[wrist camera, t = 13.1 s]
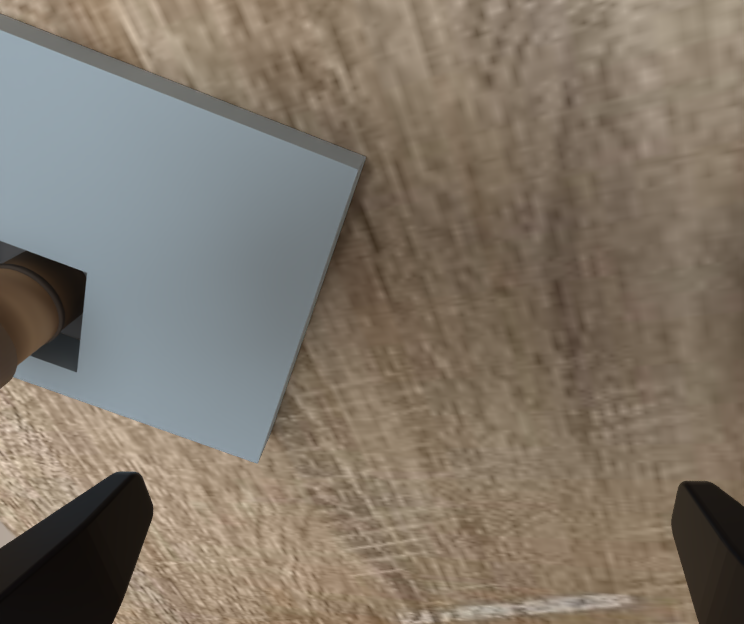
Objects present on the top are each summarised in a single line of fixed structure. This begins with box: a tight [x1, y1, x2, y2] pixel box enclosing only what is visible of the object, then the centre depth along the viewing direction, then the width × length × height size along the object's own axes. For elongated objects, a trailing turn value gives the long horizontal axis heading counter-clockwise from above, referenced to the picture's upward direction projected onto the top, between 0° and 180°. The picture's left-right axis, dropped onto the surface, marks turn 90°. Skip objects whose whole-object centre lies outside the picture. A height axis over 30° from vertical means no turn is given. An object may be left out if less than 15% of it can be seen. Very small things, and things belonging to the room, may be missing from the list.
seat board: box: [0, 14, 366, 464], centre depth 21 cm, size 16×14×2 cm
